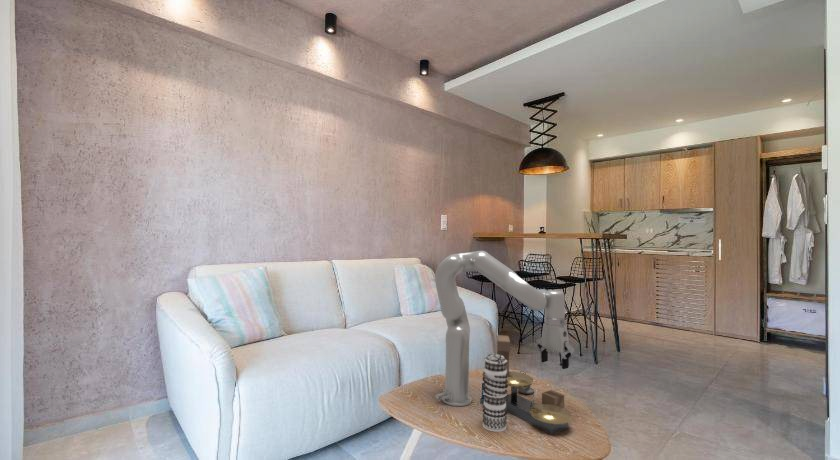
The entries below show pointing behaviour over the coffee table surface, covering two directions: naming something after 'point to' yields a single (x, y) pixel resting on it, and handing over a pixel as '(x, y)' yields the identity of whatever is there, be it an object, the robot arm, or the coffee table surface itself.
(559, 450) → the coffee table surface
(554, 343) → the robot arm
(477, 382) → the coffee table surface
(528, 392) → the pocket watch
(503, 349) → the decorative block
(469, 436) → the coffee table surface
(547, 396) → the walnut block
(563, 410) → the balance
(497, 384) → the decorative candle
